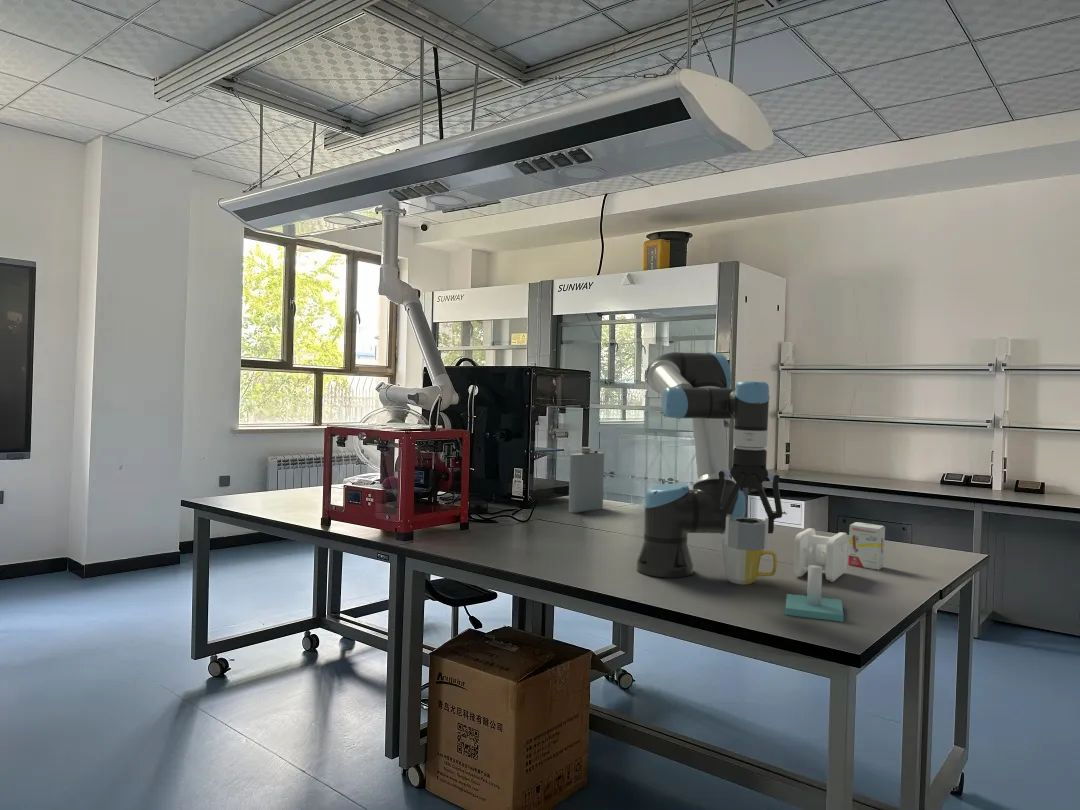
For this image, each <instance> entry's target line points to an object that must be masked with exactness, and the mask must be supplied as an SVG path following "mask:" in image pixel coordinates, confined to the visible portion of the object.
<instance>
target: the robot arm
mask: <svg viewBox="0 0 1080 810" xmlns="http://www.w3.org/2000/svg"><path fill="white" fill-rule="evenodd" d="M731 377H732V371H731V367H730V362H729V360H728V358H727V357H726V356H724V355H723V354H721V353H712V352H706V353H705V352H678V351H677V352H675V351H674V352H668V353H663V354H662V355H660V356H657V357H655V358H653V360H652V361H650V363H649V364H648V366H647V368H646V371H645V381H646V382H647V384H648V386H649V387H650V388H651V390H653V391H654V392H656V393H658V394H660V396H661V397H662V398H661V400H662V401H661V406H662V413H663V415H664V416H665V417H666V418H669V419H670V418H672V419H673V418H674V419H678V420H680V419H692V426H693V427H692V428H693V440H694V451H695V461H696V474H697V480H696V481H695V482H694V483H693V484H692V489H690V487H689V485H688V484H685V483H667V484H665V483H664V484H660V485H659V484H658V485H655V486H652V487H649V488H648V489H647V490H646V491H645V494H644V503H643V504H644V505H643V507H644V522H643V523H644V524H643V527H644V528H643V543H642V546H641V549H640V551H639V554H638V557H637V559H636V571H638V572H639V573H641V574H643V575H647V576H651V577H656V578H657V577H658V578H675V579H676V578H683V577H688V576H691V575H693V573H694V562H693V559H692V556H691V552H690V549H689V545H688V534H692V533H693V534H720V535H724V534H725V537H724V539H725V544H728V533H729V520H730V518H737V517H745V513H746V496H745V492H744V491H742V490H741V489H747V488H748V489H753V490H756V492H757V493H758V496H759V498H760V501H761V504H762V506H763V508H764V510H765V511H764V512H765V513H766V515H767V517H765V519H764V521H765V534H764V549H768V547H769V534H771V535H772V534H773V533H774V529H775V527H774V526H775V520H776V519H780V518H782V517H783V508H782V500H781V494H780V487H779V481H780V478H781V475H780V474H779V473H772V472H769V471H768V469H767V458H768V457H767V455H768V454H767V453H768V452H767V449H765V448H767V446H768V434H769V433H768V432H769V431H768V429H769V428H768V425H769V407H770V405H769V403H770V399H771V398H770V387H769V384H768V383H767V382H766V381H752V380H751V381H747V380H745V381H744V380H743V381H742V380H740V381H737V382H736V384H735V387H731V385H732V379H731ZM724 420H734V422H733V444H732V445H733V446H734V449H733V450H732V465H731V468H730V470H729V464H728V463H729V462H728V451H727V443H726V442H727V441H726V434H725V423H724ZM730 476H731V477H732V478H731V477H730ZM767 478H768V479H769V483H770V484H772V485H771V486H772V493H773V499H774V507H775V512H774V511H773V509H772V507H771V503H770V501H769V499H768V496H767V493H766V492H765V488H764V486H763V483H764V482H765V480H766V479H767Z"/></svg>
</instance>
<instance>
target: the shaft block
mask: <svg viewBox="0 0 1080 810" xmlns="http://www.w3.org/2000/svg"><path fill="white" fill-rule="evenodd" d="M822 583H823V573H822V567H821V566H816V565H809V566H808V572H807V590H806V591H807V592H806V593H807V594H806V595H803V594H802V595H801V594H792V593H786V600H785V608H784V609H785V610H784V614H785V616H792V617H794V616H795V617H801V618H808V619H809V618H810V619H815V620H817V619H818V620H826V621H833V622H834V621H835V622H842V623H843V622H844V611H843V602H842V599H835V598H827V597H822V587H823V586H822V585H823V584H822Z"/></svg>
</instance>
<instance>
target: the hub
mask: <svg viewBox="0 0 1080 810" xmlns="http://www.w3.org/2000/svg"><path fill="white" fill-rule="evenodd" d="M764 534H765V520H763V519H759V518H756V517H745V516H744V517H737V518H730V520H729V533H728V546H729V547H732V548H735V549H739V550H749V551H756V550H765V548H764Z"/></svg>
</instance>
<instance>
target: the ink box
mask: <svg viewBox="0 0 1080 810" xmlns="http://www.w3.org/2000/svg"><path fill="white" fill-rule="evenodd" d="M848 537H849V541H848V556H847V566H848V565H849V566H853V567H859V568H866V569H872V570H876V569H877V570H881V569H882V568H884V564H885V563H884V561H885V559H884V557H885V540H886V539H885V537H886V526H884V525H880V524H873V523H865V522H857V521H855V522H853V523H851V524H849V533H848Z"/></svg>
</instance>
